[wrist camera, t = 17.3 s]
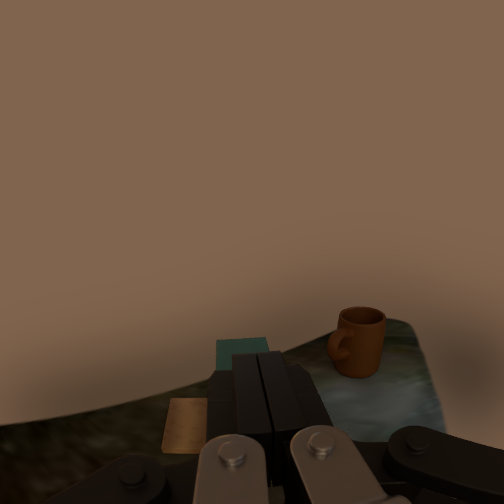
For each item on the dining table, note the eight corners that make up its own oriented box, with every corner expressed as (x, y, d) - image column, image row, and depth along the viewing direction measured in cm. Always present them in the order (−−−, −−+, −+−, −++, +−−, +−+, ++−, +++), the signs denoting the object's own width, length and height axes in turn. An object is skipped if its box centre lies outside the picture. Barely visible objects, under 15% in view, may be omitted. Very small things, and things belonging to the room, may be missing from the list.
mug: (345, 399, 39) (354, 342, 37) (306, 379, 45) (309, 325, 43) (386, 364, 46) (395, 313, 44) (350, 351, 52) (355, 302, 50)
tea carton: (215, 377, 27) (215, 339, 34) (224, 454, 29) (222, 412, 36) (276, 373, 27) (265, 336, 35) (275, 450, 30) (266, 409, 37)
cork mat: (162, 453, 30) (161, 447, 29) (171, 403, 39) (170, 397, 39) (333, 440, 31) (334, 435, 31) (313, 394, 41) (313, 388, 41)
